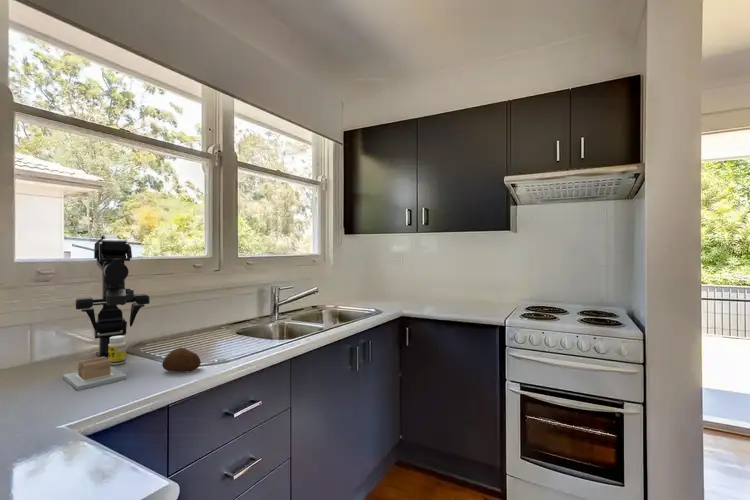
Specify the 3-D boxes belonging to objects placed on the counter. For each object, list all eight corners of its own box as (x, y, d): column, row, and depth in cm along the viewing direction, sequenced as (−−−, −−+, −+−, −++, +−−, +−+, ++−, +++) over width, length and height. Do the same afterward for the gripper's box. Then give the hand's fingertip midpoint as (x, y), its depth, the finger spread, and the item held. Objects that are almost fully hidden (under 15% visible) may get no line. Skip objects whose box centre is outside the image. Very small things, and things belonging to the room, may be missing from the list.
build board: (63, 378, 104) (63, 374, 104) (109, 368, 113) (109, 365, 113) (77, 390, 95) (77, 386, 95) (126, 378, 104) (126, 375, 104)
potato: (198, 373, 109) (198, 350, 109) (158, 376, 106) (158, 352, 106) (202, 366, 116) (202, 344, 116) (165, 369, 113) (165, 346, 113)
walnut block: (78, 375, 103) (78, 361, 103) (104, 370, 108) (104, 356, 108) (84, 380, 100) (84, 365, 100) (110, 374, 104) (110, 360, 104)
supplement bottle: (104, 363, 117) (104, 337, 117) (120, 359, 122) (120, 334, 122) (113, 366, 115) (113, 339, 115) (129, 362, 119) (129, 336, 119)
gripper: (77, 283, 104) (76, 338, 104) (153, 279, 116) (152, 329, 116) (75, 279, 112) (74, 330, 112) (146, 276, 124) (146, 322, 125)
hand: (113, 328), depth 116 cm, fingers open, 9 cm apart
